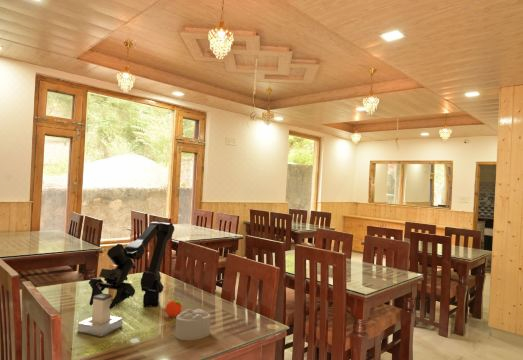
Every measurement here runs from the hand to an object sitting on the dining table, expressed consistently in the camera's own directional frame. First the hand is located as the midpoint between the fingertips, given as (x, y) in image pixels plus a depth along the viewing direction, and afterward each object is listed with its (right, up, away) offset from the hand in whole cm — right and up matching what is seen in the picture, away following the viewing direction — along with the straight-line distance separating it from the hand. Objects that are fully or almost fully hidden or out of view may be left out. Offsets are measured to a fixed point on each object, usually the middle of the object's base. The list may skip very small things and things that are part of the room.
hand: (99, 306), depth 135 cm
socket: (0, -9, +1) cm, 9 cm away
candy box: (-11, -10, +39) cm, 42 cm away
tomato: (+24, -11, +18) cm, 32 cm away
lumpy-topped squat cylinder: (+35, -11, +1) cm, 36 cm away
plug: (0, -9, +1) cm, 9 cm away
